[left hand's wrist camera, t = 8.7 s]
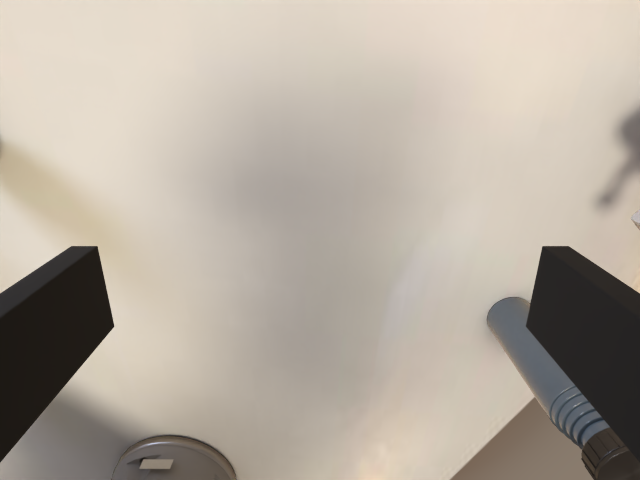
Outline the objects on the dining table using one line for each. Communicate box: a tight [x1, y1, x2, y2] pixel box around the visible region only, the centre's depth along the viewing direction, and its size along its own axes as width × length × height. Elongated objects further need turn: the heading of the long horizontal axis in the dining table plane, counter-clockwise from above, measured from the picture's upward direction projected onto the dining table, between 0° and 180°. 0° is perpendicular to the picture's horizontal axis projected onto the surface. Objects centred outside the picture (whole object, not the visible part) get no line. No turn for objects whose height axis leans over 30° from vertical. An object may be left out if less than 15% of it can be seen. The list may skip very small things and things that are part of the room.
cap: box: [582, 427, 640, 480], centre depth 27 cm, size 4×4×2 cm
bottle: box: [487, 297, 610, 450], centre depth 35 cm, size 5×5×18 cm
